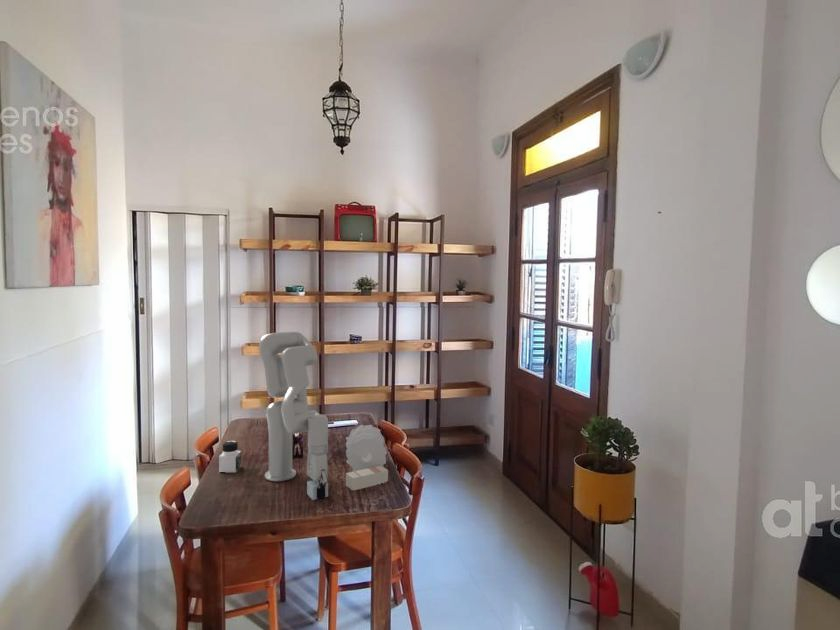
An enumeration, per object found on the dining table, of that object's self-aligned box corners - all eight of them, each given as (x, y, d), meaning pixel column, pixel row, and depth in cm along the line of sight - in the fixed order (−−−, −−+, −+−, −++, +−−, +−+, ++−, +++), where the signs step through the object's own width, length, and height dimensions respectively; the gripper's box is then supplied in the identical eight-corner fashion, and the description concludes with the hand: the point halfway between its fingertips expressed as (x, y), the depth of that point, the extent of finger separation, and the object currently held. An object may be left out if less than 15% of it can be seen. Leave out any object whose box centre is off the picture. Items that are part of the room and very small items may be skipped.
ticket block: (345, 485, 197) (346, 472, 197) (380, 477, 206) (380, 465, 206) (352, 490, 193) (352, 478, 192) (387, 482, 201) (388, 469, 201)
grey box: (307, 494, 188) (307, 481, 188) (321, 490, 192) (321, 477, 191) (313, 500, 183) (313, 486, 183) (328, 496, 187) (328, 483, 186)
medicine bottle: (236, 472, 208) (235, 444, 208) (218, 472, 208) (218, 444, 207) (241, 466, 216) (241, 439, 215) (224, 466, 215) (224, 439, 214)
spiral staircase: (373, 466, 230) (377, 485, 205) (338, 451, 227) (338, 468, 202) (390, 430, 231) (396, 445, 206) (356, 415, 228) (358, 428, 203)
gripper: (300, 443, 191) (299, 488, 193) (317, 456, 177) (316, 505, 178) (318, 440, 196) (318, 484, 197) (336, 453, 181) (336, 500, 183)
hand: (317, 494), depth 188 cm, fingers closed on grey box, 6 cm apart
